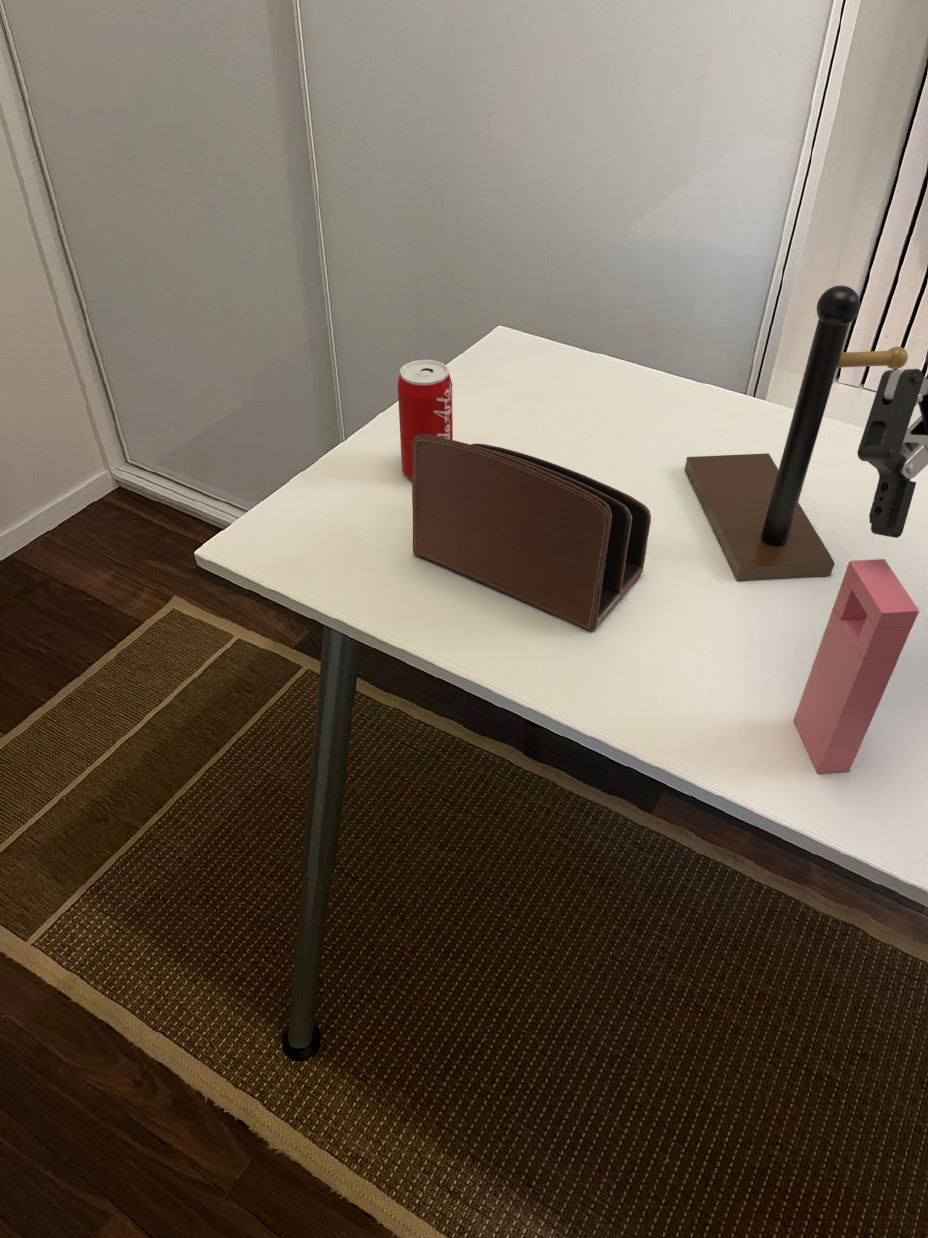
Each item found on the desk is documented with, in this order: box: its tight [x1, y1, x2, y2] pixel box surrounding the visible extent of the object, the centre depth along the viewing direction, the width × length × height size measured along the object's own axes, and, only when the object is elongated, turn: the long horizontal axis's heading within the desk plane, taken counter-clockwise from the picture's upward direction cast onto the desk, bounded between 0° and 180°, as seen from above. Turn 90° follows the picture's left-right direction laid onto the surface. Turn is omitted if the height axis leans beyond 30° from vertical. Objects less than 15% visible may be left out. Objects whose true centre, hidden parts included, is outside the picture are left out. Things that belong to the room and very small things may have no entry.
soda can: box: [397, 359, 454, 480], centre depth 97 cm, size 6×6×12 cm
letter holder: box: [411, 434, 652, 633], centre depth 85 cm, size 10×20×14 cm, turn 56°
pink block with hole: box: [793, 558, 920, 774], centre depth 67 cm, size 2×5×16 cm, turn 5°
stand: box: [684, 285, 909, 582], centre depth 86 cm, size 12×19×26 cm, turn 5°
